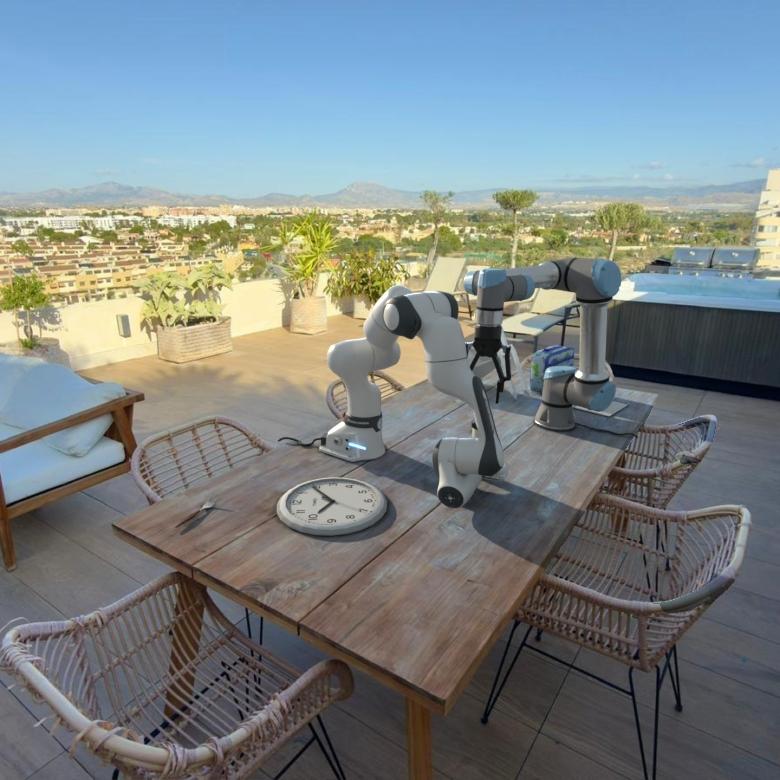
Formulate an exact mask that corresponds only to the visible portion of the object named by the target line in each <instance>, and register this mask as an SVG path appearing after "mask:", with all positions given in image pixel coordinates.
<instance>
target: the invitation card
mask: <svg viewBox="0 0 780 780" xmlns="http://www.w3.org/2000/svg"><path fill="white" fill-rule="evenodd" d="M628 406H629V404H627V403H623V402H618V401H614V400H613V401H612V402H611V404H610V405H609V406H608V408H606V409H605V410H604V411H601V412H597V411H593V410H588V409H586V408H583V407H579V406H576V405H575V406H574V407H573V409H575V410H581V411H584V412H587V413H593V414H596V415H600V416H604V417H608V418H609V417H611V416H613V415H614V414H616V413H617V412H619V411H621V410H623V409H624V408H626V407H628Z"/></svg>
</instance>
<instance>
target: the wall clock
mask: <svg viewBox="0 0 780 780" xmlns="http://www.w3.org/2000/svg"><path fill="white" fill-rule="evenodd" d="M387 509H388V500H387V498H386V496H385V494H384V493H383V492H382V491H381V490H380V489H379V488H377V487H376V486H374V485H372V484H371V483H369V482H365V481H362V480H359V479H355V478H349V477H338V476H337V477H335V476H333V477H332V476H331V477H322V478H317V479H312V480H307V481H305V482H302V483H299V484H297V485H295V486H293V487H292V488H290V489H288V490H287V491H286V492H285V493H284V494H283V495H281V496H280V498H279V499H278V502H277V503H276V515H277V517H278V518H279V520H280V521H281V522H282V523H283V524H285V525H286V526H287V527H288V528H290V529H293V530H295V531H297V532H299V533H303V534H308V535H312V536H327V537H328V536H329V537H331V536H332V537H333V536H342V535H350V534H352V533H356V532H361V531H363V530H366V529H368V528H369V527H372V526H373V525H375V524H376V523H378V522H379V521H380V520H381V519H382V518H383V517H384V516H385V514H386V512H387Z"/></svg>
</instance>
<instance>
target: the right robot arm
mask: <svg viewBox="0 0 780 780" xmlns="http://www.w3.org/2000/svg"><path fill="white" fill-rule="evenodd" d="M621 286H622V272H621V269H620V267H619V265H618V264H617V262H615V261H614V260H610V259H605V258H588V257H565V258H559V259H553V260H546V261H542V262H541V263H539V264H537V265H530V266H529V265H528V266H519V267H511V268H509V267H508V268H493V267H492V268H490V267H489V268H482V269H479V270H470V271H468V272H467V273H466V274H465V276H464V278H463V289H464V291H465V292H466V293H467V294H468V295H471V296H474V297H476V309H475V323H476V324H475V325H474V339H473V340H472V342H471V341H470V342H467V341H465V344H466V351H467V358H468V353H469V350H470V349H471V347H474V349H475V350H476V352H477V353H476V355H475V357H474V359H473V361H472V363H471V365H470V369H471V371H473V369H474V367H475V365H476V363H477V361H478V359H479V357H485V356H486V357H492V360H493V362H494V365H495V368H496V369H495V371H496V374H497V376H498V380H497V382H496V390H495V405H498V404H499V403H500V395H501V394H500V393H503V392H504V391H505V382H507V381H510V380H511V378H512V365H511V360H510V351H511V346H510V344H508V345H509V346H506V345H502V341H501V333H502V327H503V326H502V327H501V324H503V319H504V306H505V303H511V302H522V301H526V300H529V299H531V298H532V297H533V295H534V294H535V292H536V289H542V290H544V291H548V290H555V291H562V292H567V293H575V302H576V303H577V304H578V305H579V306H580V307H579V308H580V309H579V311H580V312H579V355H578V356H579V357H578V358H579V360H578V361H579V362H578V363H579V364H578V368H577V367H576V366H573V367H571V366H555V367H549V368H547V369H546V371H545V375H544V378H543V379H544V381H543V391H542V393H541V402H540V405H538V407H537V409H538V410H537V411H536V413H535V417H534V424H535V425H536V426H537V427H539V428H542V429H544V430H549V431H556V432H567V431H572V430H574V429H575V428H576V426H579V427H583V428H586V429H590V430H593V431H596V432H602V433H608V434H612V435H615V436H633V437H634V438H636V439H639V436H638V435H637V434H636V433H633V432H615V431H612V430H608V429H601V428H596V427H592V426H589V425H586V424H582V423H579V422H576V418H575V417H576V416H575V413H574V407H573V406H575V407H576V406H579V407H583V408H586V409H588V410H593V411H597V412H601V411H604V410H605V409H606V408H608V406H609V405H610V404H611V402H612V401H614V398H615V396H616V392H617V386H616V384H615V383H614V382H613V381H610V372H609V371H608V370H607V369H606V355H607V354H606V352H607V326H608V305H609V304H610V303H611V302H612V301H613V300H614V299H613V298H614V297H615V296H616V295H618V293H619V291H620V287H621ZM500 349H503V353H505V367H506V376H505V373H504V370H503V367H502V364H501V365H500V362H499V359H498V355H497V352H498V351H499V350H500Z"/></svg>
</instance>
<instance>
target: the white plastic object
mask: <svg viewBox="0 0 780 780" xmlns="http://www.w3.org/2000/svg"><path fill="white" fill-rule="evenodd" d="M502 324H503V323H502ZM502 324H501V327H502V333H501V342H502V345H506V346H509V345H510V346H511V351H510V361H511V360H513V363H514V366H515V369H516V372H517V376H518V380H519V382H520V385H521V389H522V391H523V393H524V395H525V396H526V397H528V396H531V395H530V389H529V388H528V387H529V386H528V384H527V381H526V378H525V375H524V371H523V369H522V368H523V367H522V366H521V362H520V359H519V355H518V352H517V349H516V347H515V346H514V345H513V343H511V344H508V341H507V337H506V334H505V331H504V328H503V325H502ZM476 353H477V352H476V350H475V349H474V347H473V346H472V347H471V349H470V350H469V353H468V358H467V360H468V364H469V367H470V365H471V363H472V361H473V359H474V357H475V355H476ZM497 355H498V359H499V362H500V365H501V368H502V371H503V374H504V376H506V367H505V353H503V349H500V350H499V351H498V352H497ZM495 370H496V368H495V365H494V362H493V360H492V357H486V356H485V357H479V359H478V361H477V363H476V365H475V367H474V369H473V371H472V372H473V374H474V375H475V376H476V377H478V378H480V379H481V381H482V382H483V381H484V378H485V377H486V376H487V375H489V374H490V373H492V372H494V371H495ZM506 383H507V386H508V390H509V393H510V394H511V395H512V397H513V398H514V399H515V400H517V392H516V391H517V390H516V388H515V385H514V381H513V378H512V377H511V380H510V381H506Z"/></svg>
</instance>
